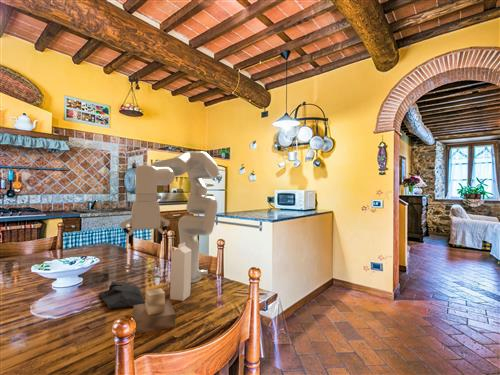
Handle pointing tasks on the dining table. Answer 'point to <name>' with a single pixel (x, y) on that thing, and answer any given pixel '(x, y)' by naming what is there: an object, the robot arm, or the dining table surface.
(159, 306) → the beech block
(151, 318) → the walnut base
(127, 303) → the dark slate chunk
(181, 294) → the milk
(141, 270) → the dining table surface
